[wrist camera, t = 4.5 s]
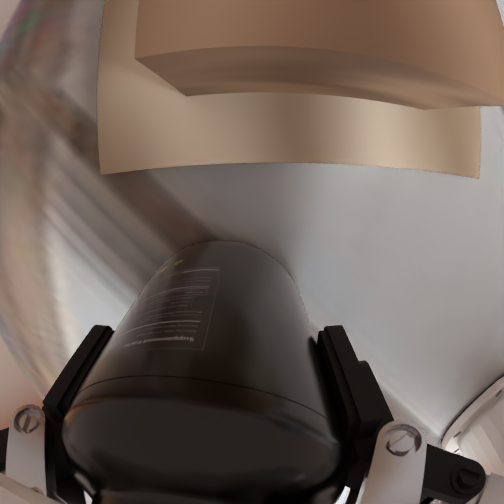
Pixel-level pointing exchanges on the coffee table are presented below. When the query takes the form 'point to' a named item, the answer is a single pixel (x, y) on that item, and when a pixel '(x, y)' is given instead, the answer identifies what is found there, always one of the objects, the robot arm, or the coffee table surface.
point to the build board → (261, 121)
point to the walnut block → (329, 48)
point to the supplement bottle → (209, 392)
